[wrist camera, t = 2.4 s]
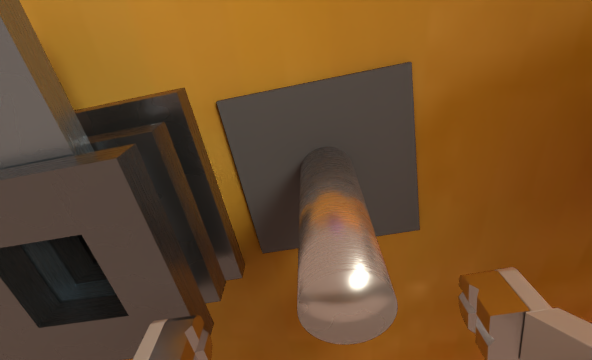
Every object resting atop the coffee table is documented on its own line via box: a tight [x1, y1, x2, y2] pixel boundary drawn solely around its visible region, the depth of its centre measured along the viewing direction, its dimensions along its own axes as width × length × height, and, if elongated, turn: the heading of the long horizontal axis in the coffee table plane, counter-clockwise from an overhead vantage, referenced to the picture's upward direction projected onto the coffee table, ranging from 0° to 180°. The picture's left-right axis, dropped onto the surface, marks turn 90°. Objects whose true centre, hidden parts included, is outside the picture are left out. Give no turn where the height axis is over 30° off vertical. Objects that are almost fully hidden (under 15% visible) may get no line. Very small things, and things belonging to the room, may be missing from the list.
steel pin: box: [297, 147, 398, 344], centre depth 15 cm, size 3×3×10 cm
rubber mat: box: [216, 62, 420, 253], centre depth 19 cm, size 10×10×1 cm
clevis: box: [0, 0, 245, 360], centre depth 16 cm, size 13×17×7 cm
